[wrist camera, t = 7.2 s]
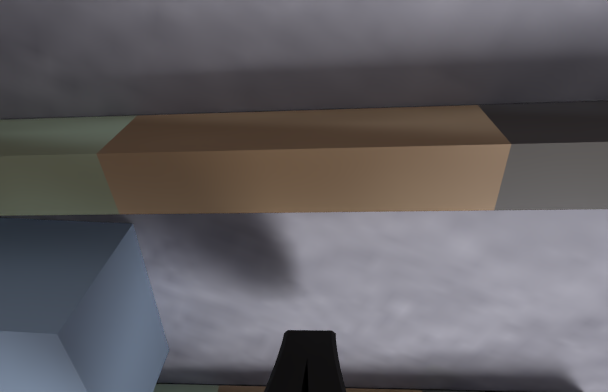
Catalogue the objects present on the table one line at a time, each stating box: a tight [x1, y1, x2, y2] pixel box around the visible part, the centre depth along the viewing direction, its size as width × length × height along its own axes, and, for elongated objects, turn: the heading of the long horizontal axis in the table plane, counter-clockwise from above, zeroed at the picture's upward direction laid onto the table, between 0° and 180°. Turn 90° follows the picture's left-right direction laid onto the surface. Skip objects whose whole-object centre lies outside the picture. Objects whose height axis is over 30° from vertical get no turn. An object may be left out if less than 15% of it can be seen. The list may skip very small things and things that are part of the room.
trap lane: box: [0, 101, 608, 392], centre depth 12 cm, size 13×28×2 cm, turn 93°
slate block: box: [0, 218, 169, 392], centre depth 12 cm, size 6×6×4 cm
